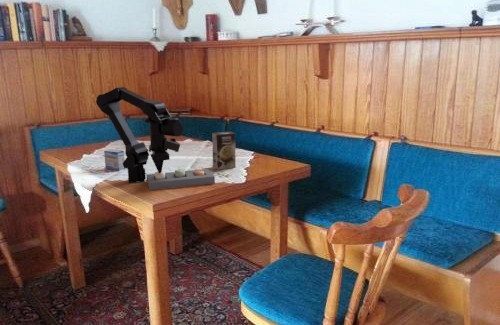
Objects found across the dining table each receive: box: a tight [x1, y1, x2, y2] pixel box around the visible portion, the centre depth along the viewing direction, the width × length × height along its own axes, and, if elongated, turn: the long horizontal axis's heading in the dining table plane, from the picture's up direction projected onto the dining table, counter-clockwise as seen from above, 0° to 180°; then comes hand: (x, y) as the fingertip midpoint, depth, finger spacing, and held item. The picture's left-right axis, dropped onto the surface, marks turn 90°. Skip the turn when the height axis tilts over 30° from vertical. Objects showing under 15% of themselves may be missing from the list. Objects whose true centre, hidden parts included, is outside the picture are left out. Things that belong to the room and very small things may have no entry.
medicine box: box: [103, 149, 126, 172], centre depth 195 cm, size 8×4×9 cm, turn 68°
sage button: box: [174, 169, 186, 178], centre depth 174 cm, size 4×4×3 cm
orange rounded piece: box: [195, 171, 204, 176], centre depth 177 cm, size 4×4×3 cm
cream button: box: [154, 170, 166, 180], centre depth 172 cm, size 4×4×3 cm
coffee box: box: [211, 131, 236, 171], centre depth 196 cm, size 9×6×16 cm
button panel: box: [145, 168, 216, 191], centre depth 175 cm, size 26×12×3 cm, turn 108°
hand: (159, 172), depth 172 cm, fingers closed
